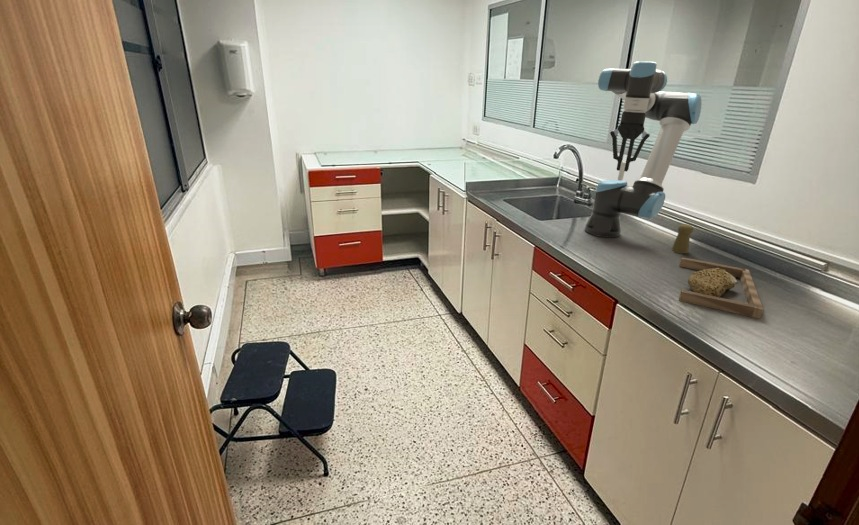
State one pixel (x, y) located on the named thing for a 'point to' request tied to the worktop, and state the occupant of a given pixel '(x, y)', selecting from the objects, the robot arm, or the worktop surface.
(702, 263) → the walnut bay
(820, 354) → the worktop surface
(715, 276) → the sponge
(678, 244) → the olive waisted cylinder
